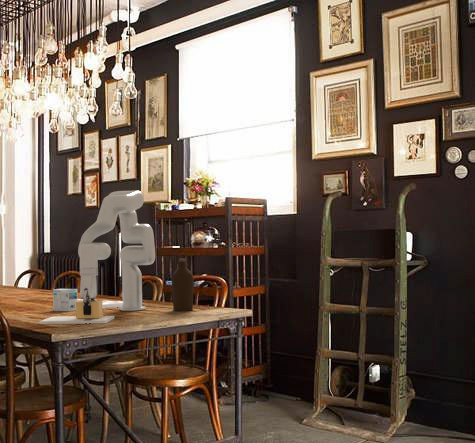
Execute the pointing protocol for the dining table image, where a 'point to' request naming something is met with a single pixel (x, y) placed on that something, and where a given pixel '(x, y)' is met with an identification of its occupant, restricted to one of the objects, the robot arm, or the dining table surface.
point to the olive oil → (182, 288)
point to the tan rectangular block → (95, 309)
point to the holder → (109, 304)
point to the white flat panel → (75, 320)
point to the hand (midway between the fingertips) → (89, 313)
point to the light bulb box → (65, 299)
